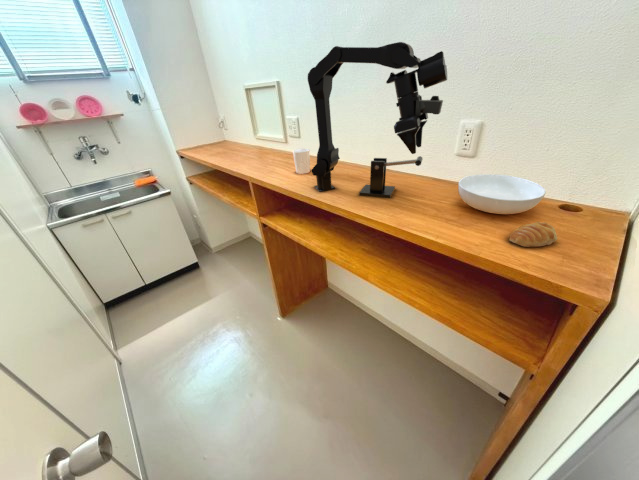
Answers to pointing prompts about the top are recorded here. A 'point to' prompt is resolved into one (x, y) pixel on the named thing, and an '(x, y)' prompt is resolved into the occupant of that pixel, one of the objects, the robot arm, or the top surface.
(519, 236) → the pastry
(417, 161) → the lever
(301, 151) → the white cup
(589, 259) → the top surface
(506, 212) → the serving bowl
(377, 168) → the bracket
